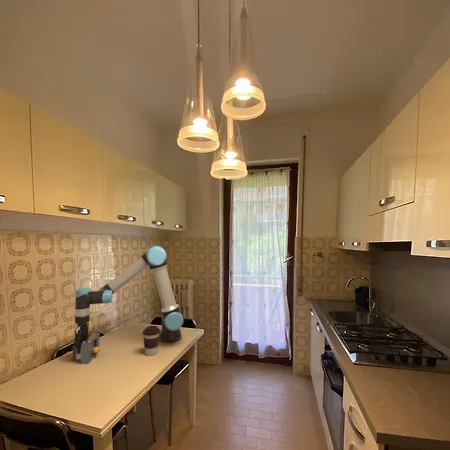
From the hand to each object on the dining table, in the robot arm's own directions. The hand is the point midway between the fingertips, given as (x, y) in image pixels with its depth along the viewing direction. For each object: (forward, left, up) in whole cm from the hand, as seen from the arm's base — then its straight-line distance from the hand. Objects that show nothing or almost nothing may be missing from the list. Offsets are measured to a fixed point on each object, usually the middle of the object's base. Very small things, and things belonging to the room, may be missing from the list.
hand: (81, 356), depth 148 cm
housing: (-5, 0, -1) cm, 5 cm away
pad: (+7, -7, -1) cm, 10 cm away
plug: (-3, 0, -1) cm, 3 cm away
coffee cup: (-39, -1, -1) cm, 39 cm away
